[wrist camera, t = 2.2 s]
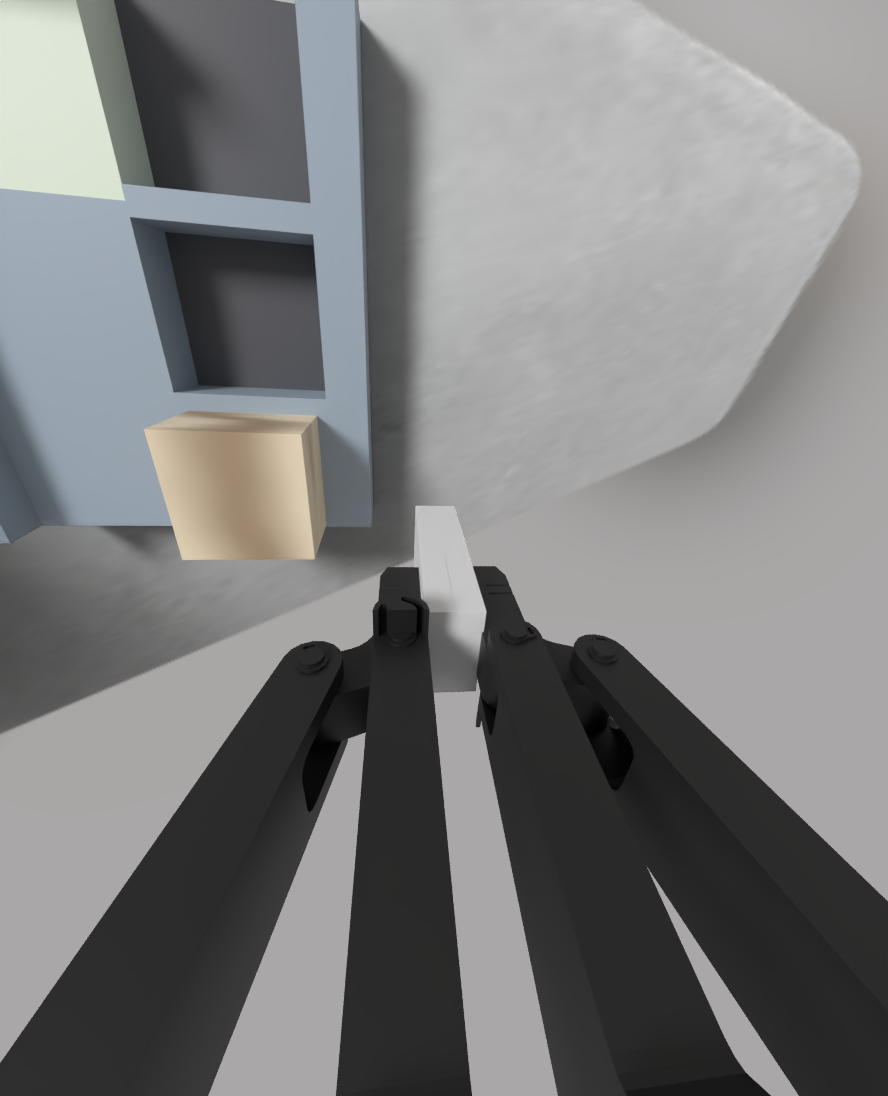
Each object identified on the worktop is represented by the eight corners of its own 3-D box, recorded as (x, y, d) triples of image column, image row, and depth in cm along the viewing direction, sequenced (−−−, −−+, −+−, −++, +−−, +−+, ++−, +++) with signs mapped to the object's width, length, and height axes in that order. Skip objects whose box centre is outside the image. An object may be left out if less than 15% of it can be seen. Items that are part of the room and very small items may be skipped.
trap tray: (65, 503, 24) (-9, 543, 19) (-180, -71, 14) (-450, -259, 9) (373, 507, 26) (369, 543, 22) (359, 18, 16) (347, -99, 11)
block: (215, 523, 22) (182, 559, 19) (188, 410, 19) (143, 429, 16) (326, 523, 23) (314, 559, 19) (317, 415, 20) (301, 434, 17)
